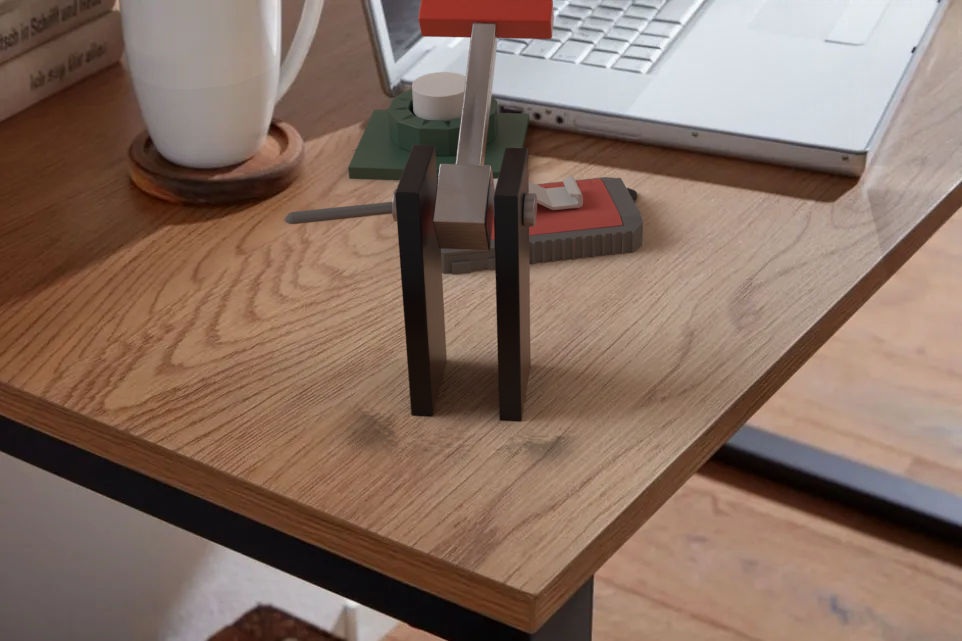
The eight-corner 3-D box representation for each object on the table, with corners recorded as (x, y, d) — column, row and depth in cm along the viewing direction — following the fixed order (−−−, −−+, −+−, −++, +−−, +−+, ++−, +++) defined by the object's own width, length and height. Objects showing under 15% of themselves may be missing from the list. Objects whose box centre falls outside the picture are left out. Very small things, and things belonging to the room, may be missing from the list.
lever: (426, 22, 62) (419, -13, 60) (554, 24, 62) (552, -11, 60) (394, 247, 57) (386, 219, 55) (534, 253, 56) (531, 224, 54)
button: (475, 98, 83) (475, 72, 82) (468, 124, 80) (467, 97, 79) (418, 97, 83) (417, 71, 82) (408, 122, 80) (407, 95, 79)
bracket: (403, 359, 66) (386, 124, 59) (564, 367, 65) (566, 129, 58) (372, 463, 60) (348, 213, 53) (551, 474, 59) (552, 220, 52)
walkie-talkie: (624, 196, 79) (286, 232, 77) (627, 129, 77) (278, 164, 75) (665, 273, 72) (294, 315, 70) (670, 201, 70) (285, 242, 67)
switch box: (530, 143, 86) (529, 85, 83) (516, 205, 79) (516, 144, 77) (376, 138, 87) (372, 81, 85) (350, 199, 80) (345, 139, 78)
